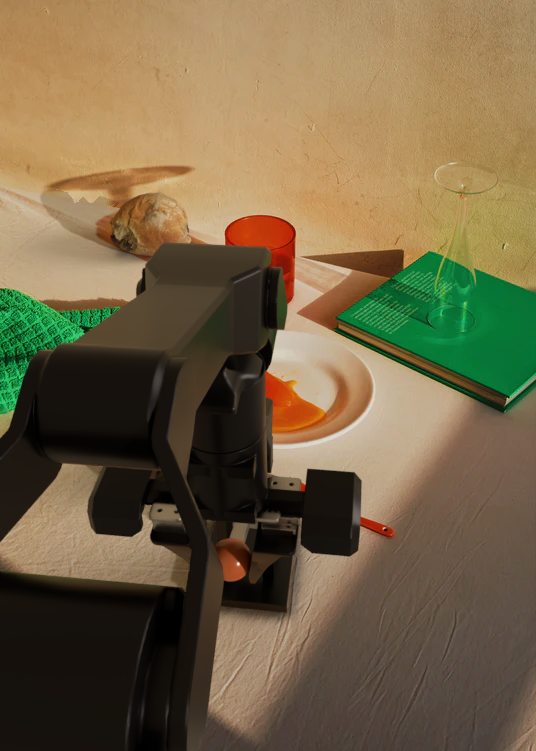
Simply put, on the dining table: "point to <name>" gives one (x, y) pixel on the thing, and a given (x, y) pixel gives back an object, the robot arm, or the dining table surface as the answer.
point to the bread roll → (149, 224)
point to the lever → (235, 552)
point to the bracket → (267, 589)
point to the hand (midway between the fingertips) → (232, 576)
